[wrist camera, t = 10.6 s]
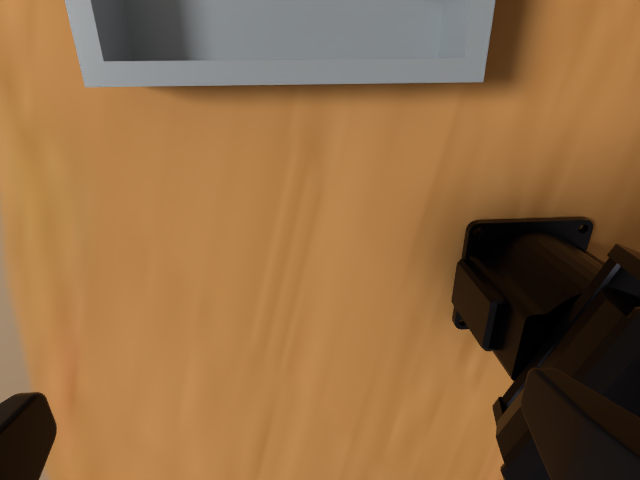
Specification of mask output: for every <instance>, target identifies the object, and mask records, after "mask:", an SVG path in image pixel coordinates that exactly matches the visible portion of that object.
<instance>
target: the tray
mask: <svg viewBox="0 0 640 480" xmlns="http://www.w3.org/2000/svg"><path fill="white" fill-rule="evenodd" d="M65 4H66V8H67V13H68V17H69V21H70V25H71V30H72V34H73V38H74V42H75V46H76V51H77V55H78V59H79V63H80V68H81V72H82V76H83V80H84V85H85V87H141V86H220V85H299V84H379V83H458V82H483V80H484V74H485V67H486V60H487V53H488V47H489V40H490V33H491V27H492V20H493V13H494V7H495V0H65Z"/></svg>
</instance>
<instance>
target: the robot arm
mask: <svg viewBox="0 0 640 480" xmlns="http://www.w3.org/2000/svg"><path fill="white" fill-rule="evenodd" d="M582 225H583V227H582V229H580V230H579V227H580V226H582ZM477 228H480V231H479V232H478V233H477V234H474V231H475V230H476V229H477ZM592 230H593V224H592V222H591V221H589V220H588V219H586V218H583V217H569V218H537V219H505V220H476V221H473V222H471V223H470V224H469V225H468V226H467V228H466V233H465V239H464V246H463V252H462V258H461V259H460V260H459V262H458V263H457V268H456V274H455V281H454V287H453V294H452V303H453V305H454V310H453V316H452V321H453V323H454V324H455V326H456V328H458V329H470V331H471V332H472V334H473V335H474V337H475V338H476V340H477V342H478V343H479V345H480V346H481V347H482V348H483V349H484V350H485V351H493V352H494V354H495V355H496V357H497V358H498V360H499V361H500V363H501V364H502V366H503V367H504V369H505V370H506V372H507V373H508V374H509V376H510V377H511V379H512V380H513V381H514V382H513V384H512V385H511V386H510V388H509V389H508V390H507V392H506V393H505V394H504V396H503V397H499V398H498V399H497V400H496V402H495V403H494V404H493V412H494V416H495V421H496V426H497V429H496V439H497V442H498V445H499V448H500V452H501V455H502V458H503V460H504V464H503V465H502V466H501V473H502V476H503V478H504V480H640V253H638V252H635V251H633V250H631V249H628V248H626V247H624V246H621V245H619V244H615V246H614V247H613V248H612V250H611V251H610V252H609V254H608V255H607V256H608V257H609V259H608V260H607V261H606V263H604V262H603V261H601V260H600V259H598V258H596V257H595V256H593V255H592V254H590V253H589V252H587V251H586V250H587V247H588V243H589V240H590V236H591V233H592ZM461 319H463V321H461V322H459V321H460V320H461ZM56 431H57V427H56V422H55V419H54V417H53V414H52V412H51V409H50V406H49V404H48V401H47V399H46V397H45V395H43V394H42V393H39V392H32V393H19V394H15V395H13V396H11V397H10V398H8V399H7V400H5V401H3V402H2V403H0V480H39V478H40V476H41V473H42V471H43V468H44V466H45V463H46V460H47V458H48V455H49V453H50V450H51V448H52V445H53V443H54V440H55V437H56Z"/></svg>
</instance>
